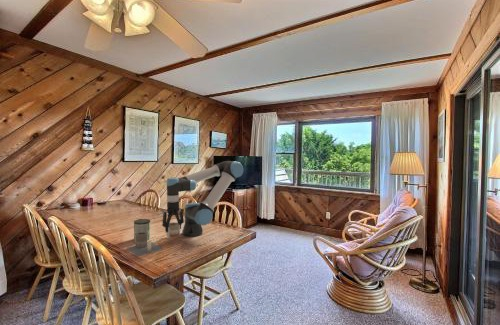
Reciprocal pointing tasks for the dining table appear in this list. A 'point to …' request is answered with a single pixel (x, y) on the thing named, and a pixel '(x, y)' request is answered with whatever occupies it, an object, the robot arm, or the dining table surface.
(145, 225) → the coffee can
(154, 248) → the pin board
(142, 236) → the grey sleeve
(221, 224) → the dining table surface
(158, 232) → the dining table surface
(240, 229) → the dining table surface
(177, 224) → the cream sleeve
